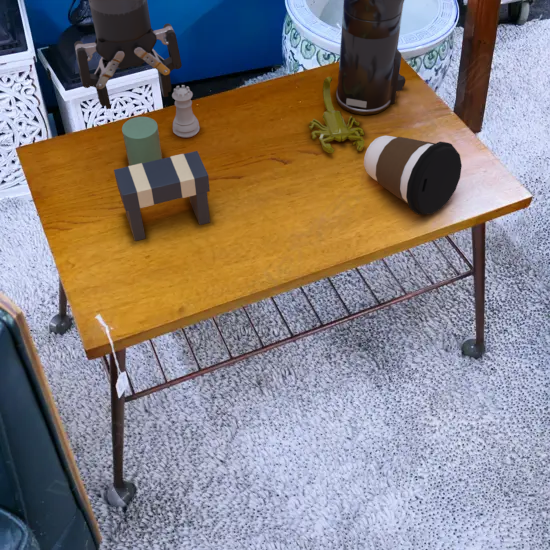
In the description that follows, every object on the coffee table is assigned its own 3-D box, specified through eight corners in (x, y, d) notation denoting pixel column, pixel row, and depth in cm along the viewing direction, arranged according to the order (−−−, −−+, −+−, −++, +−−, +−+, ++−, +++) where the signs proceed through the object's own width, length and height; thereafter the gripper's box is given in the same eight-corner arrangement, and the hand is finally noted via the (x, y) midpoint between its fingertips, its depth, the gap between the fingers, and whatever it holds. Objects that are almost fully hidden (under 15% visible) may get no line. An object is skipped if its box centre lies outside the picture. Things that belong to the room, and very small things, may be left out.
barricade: (202, 197, 113) (197, 150, 106) (212, 222, 110) (208, 175, 103) (123, 216, 110) (113, 169, 104) (132, 242, 107) (122, 195, 100)
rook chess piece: (168, 127, 124) (163, 86, 118) (193, 119, 126) (189, 78, 120) (179, 142, 122) (174, 101, 116) (204, 134, 123) (200, 93, 117)
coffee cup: (346, 194, 113) (408, 223, 106) (359, 123, 108) (424, 149, 101) (393, 183, 120) (453, 210, 113) (407, 117, 115) (471, 140, 108)
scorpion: (318, 158, 118) (322, 128, 114) (298, 103, 128) (301, 73, 124) (372, 154, 120) (377, 123, 115) (348, 100, 130) (352, 70, 125)
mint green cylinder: (158, 146, 121) (152, 113, 116) (166, 167, 118) (161, 133, 113) (125, 153, 120) (118, 120, 115) (132, 174, 117) (126, 141, 112)
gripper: (67, 21, 95) (93, 125, 107) (177, 0, 97) (190, 103, 110) (58, -7, 99) (84, 95, 111) (163, -26, 102) (177, 75, 114)
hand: (136, 99), depth 111 cm, fingers open, 8 cm apart
